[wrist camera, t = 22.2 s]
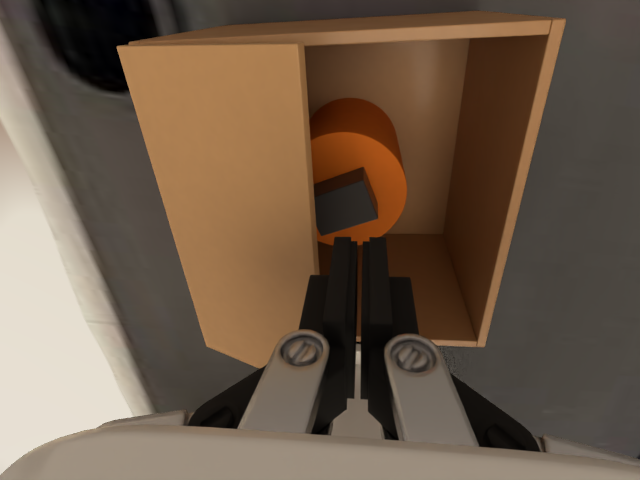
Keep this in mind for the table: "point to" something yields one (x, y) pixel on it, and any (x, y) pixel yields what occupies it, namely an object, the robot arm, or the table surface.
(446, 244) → the carton
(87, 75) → the table surface
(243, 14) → the table surface
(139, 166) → the table surface
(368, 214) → the orange cylinder
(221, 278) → the flap
